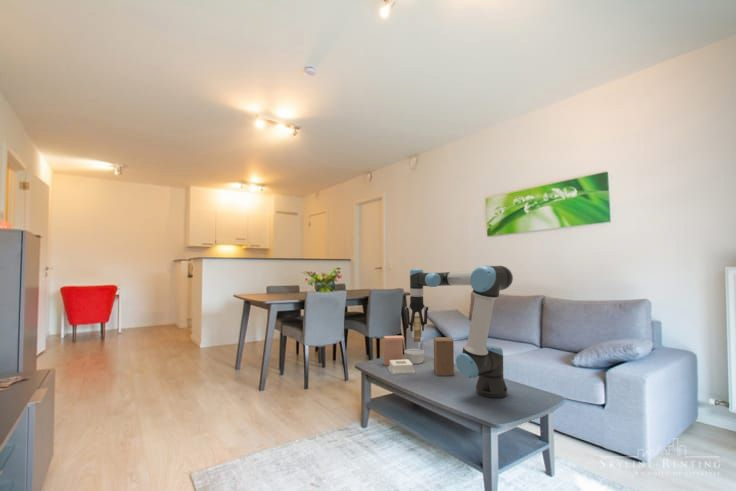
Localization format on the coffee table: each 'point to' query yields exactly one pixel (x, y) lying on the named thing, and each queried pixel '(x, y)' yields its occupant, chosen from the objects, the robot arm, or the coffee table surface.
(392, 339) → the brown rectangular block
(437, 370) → the wooden block
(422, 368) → the coffee table surface
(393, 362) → the socket
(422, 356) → the ramekin
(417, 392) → the coffee table surface
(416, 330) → the peg
